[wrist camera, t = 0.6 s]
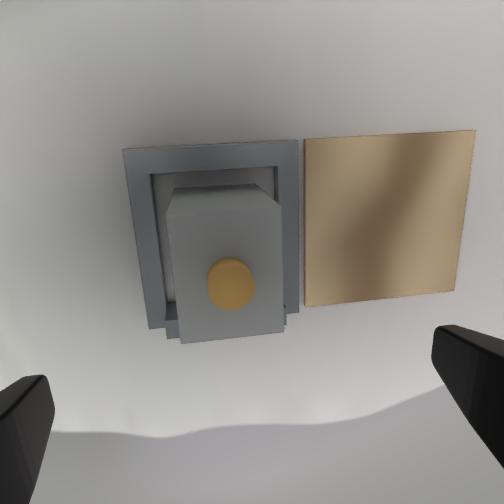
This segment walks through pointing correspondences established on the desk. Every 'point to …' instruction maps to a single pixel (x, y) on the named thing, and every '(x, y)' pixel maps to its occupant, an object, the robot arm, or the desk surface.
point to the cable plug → (226, 262)
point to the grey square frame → (200, 159)
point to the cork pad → (383, 215)
